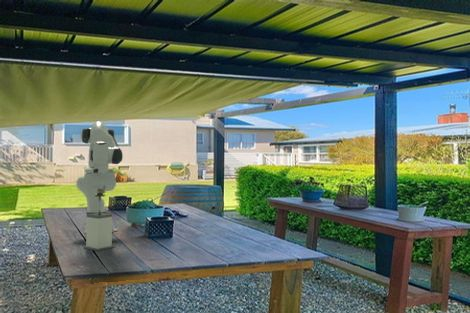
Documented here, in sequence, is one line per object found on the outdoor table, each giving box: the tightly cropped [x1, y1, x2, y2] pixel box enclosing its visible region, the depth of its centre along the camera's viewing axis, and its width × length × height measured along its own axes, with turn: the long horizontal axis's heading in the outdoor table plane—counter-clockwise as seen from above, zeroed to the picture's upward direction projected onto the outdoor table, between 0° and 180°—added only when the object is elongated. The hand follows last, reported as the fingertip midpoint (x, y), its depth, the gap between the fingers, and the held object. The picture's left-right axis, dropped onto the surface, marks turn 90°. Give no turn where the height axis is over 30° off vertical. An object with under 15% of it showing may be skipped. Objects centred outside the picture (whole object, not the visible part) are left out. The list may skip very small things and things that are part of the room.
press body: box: [83, 212, 115, 252], centre depth 251 cm, size 12×12×20 cm
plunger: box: [95, 189, 106, 215], centre depth 251 cm, size 7×7×19 cm
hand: (99, 193), depth 251 cm, fingers closed on plunger, 3 cm apart
